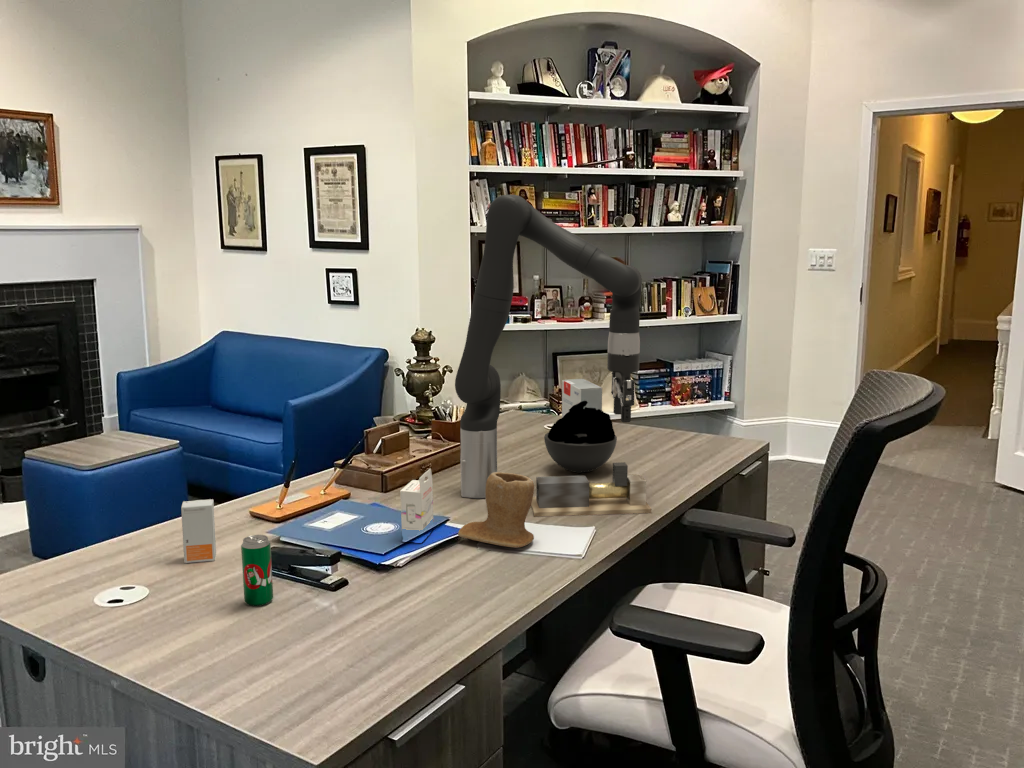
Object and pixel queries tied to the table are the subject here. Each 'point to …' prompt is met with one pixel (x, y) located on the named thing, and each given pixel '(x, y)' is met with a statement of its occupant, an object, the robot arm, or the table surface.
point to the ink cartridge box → (417, 503)
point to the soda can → (257, 570)
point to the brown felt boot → (504, 512)
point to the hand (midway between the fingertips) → (621, 418)
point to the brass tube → (612, 484)
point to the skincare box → (198, 531)
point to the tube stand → (585, 497)
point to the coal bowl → (581, 439)
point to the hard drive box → (580, 394)
